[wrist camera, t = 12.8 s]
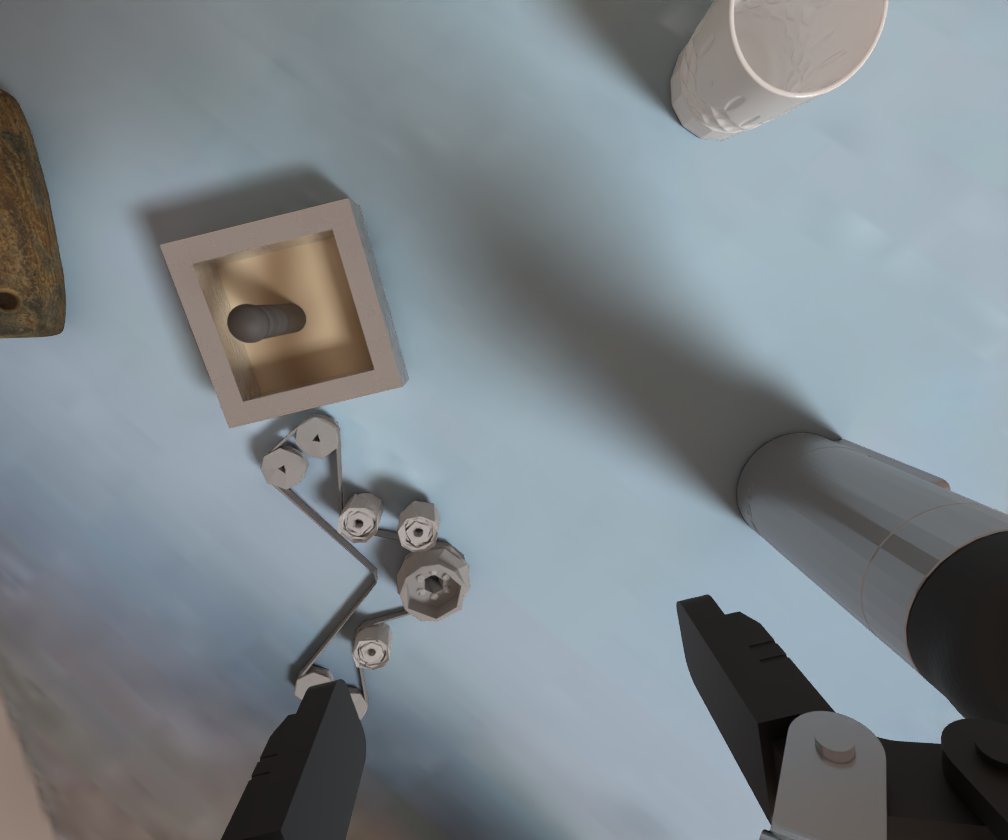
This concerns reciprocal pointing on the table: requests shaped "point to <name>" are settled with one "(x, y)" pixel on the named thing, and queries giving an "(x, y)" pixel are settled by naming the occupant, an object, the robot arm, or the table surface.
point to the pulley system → (358, 526)
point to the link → (228, 355)
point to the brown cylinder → (26, 236)
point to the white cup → (769, 59)
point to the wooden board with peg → (295, 315)
